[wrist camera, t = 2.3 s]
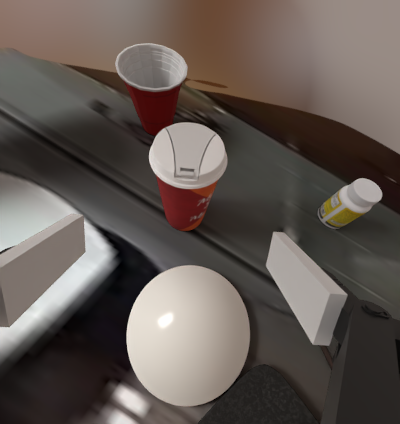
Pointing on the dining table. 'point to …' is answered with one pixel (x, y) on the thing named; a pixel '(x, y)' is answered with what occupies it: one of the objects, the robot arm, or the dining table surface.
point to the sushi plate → (261, 400)
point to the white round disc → (188, 335)
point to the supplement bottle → (349, 203)
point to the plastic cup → (152, 82)
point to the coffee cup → (187, 171)
